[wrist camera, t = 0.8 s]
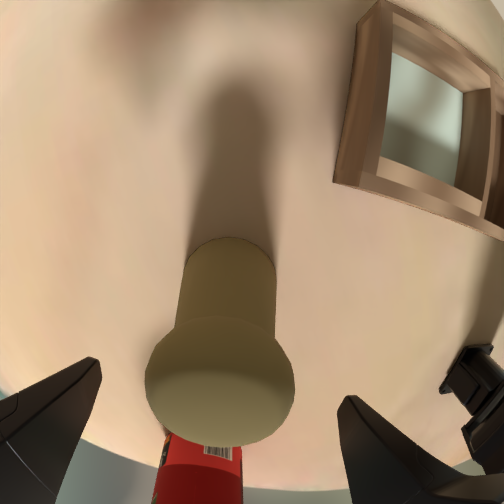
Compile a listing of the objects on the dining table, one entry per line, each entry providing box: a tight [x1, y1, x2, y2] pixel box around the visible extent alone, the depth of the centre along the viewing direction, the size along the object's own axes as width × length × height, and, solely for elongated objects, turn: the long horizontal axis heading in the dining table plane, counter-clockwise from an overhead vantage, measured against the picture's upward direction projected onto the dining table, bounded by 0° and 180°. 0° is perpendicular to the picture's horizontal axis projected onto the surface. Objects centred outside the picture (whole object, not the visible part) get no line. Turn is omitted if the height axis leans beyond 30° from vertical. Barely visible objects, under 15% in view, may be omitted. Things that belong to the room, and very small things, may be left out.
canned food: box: [151, 432, 243, 504], centre depth 18 cm, size 8×8×11 cm
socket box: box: [333, 0, 504, 242], centre depth 13 cm, size 16×12×4 cm
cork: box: [145, 237, 295, 448], centre depth 12 cm, size 6×6×11 cm
